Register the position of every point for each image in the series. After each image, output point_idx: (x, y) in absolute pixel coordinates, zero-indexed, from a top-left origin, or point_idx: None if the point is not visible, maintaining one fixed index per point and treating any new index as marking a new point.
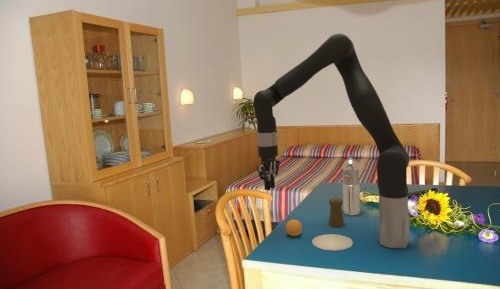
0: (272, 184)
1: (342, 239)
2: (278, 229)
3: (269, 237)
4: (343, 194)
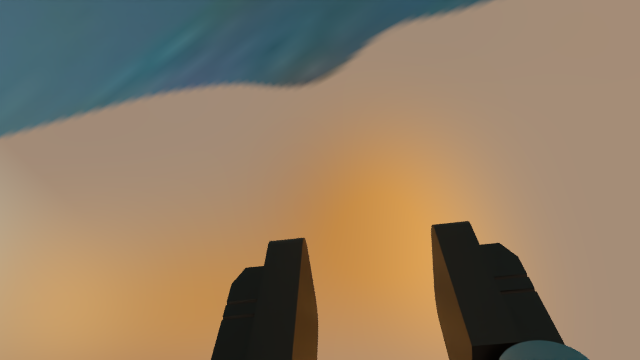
0: (305, 297)
1: None
2: (282, 50)
3: (462, 7)
4: None
